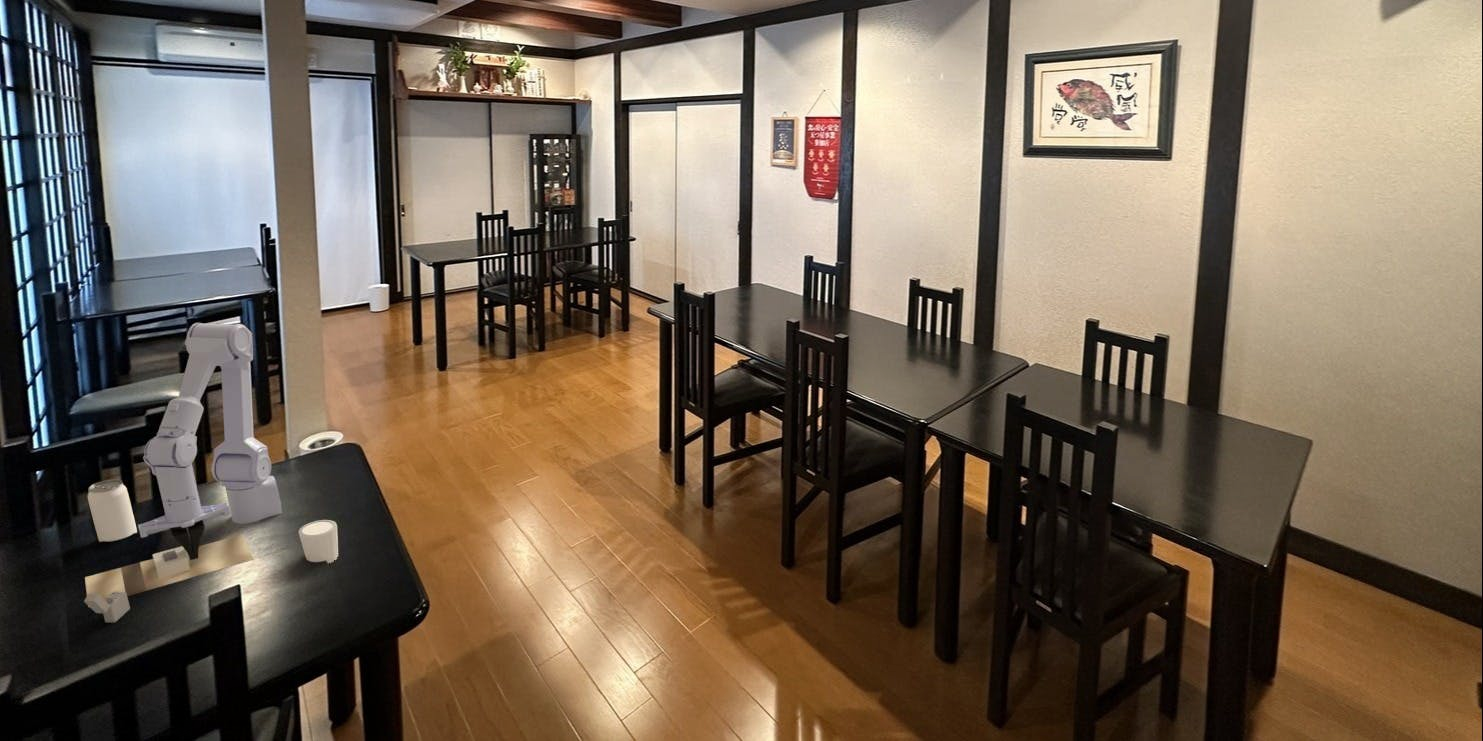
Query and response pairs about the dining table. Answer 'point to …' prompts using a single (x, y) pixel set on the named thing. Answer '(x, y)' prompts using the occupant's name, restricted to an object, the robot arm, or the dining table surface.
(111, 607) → the lighter
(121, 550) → the dining table surface
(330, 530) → the white cup
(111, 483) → the can
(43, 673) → the dining table surface
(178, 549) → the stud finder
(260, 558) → the dining table surface
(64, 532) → the dining table surface
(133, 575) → the board
